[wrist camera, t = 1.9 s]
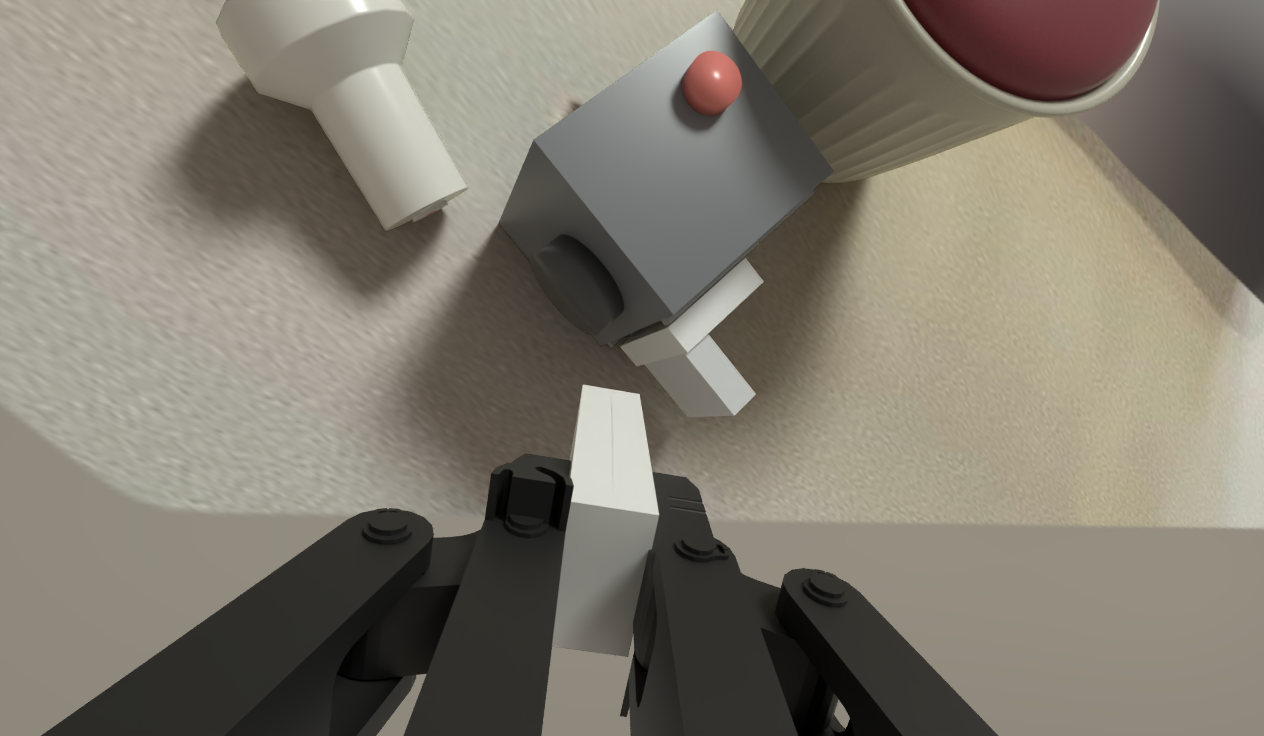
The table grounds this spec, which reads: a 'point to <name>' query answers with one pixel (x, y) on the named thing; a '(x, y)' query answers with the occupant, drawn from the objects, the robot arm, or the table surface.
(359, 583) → the robot arm
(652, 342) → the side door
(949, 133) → the canister
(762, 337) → the table surface
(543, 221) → the camera case
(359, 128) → the spotlight
